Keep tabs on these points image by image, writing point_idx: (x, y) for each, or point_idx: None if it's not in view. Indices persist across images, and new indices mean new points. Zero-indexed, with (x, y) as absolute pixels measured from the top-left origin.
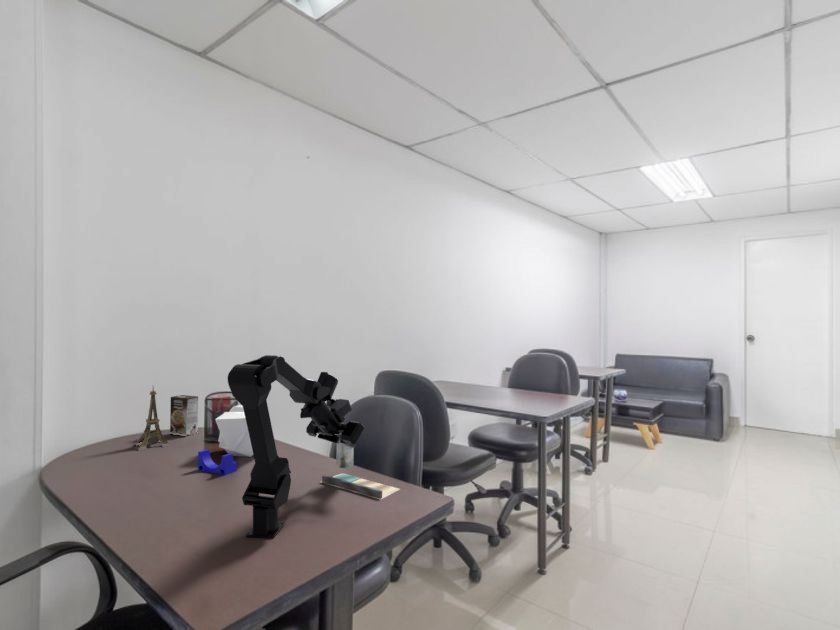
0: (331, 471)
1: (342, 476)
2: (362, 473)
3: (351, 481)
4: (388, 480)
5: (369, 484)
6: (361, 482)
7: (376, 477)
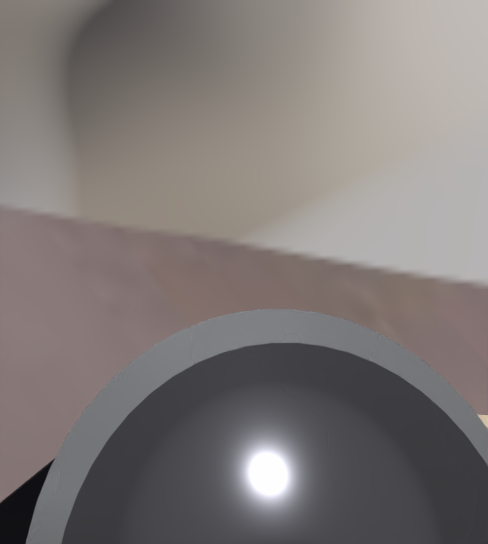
0: (31, 359)
1: None
2: (245, 285)
3: None
4: (464, 302)
5: None
6: None
7: (368, 298)
